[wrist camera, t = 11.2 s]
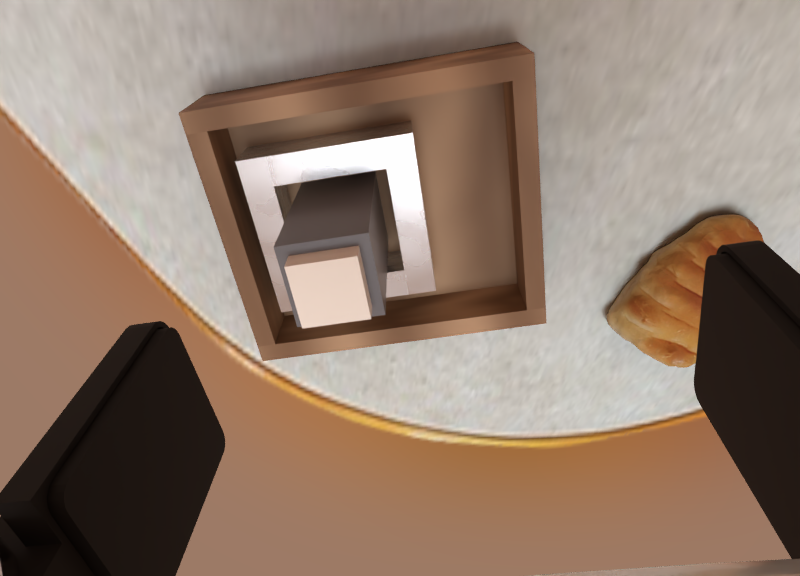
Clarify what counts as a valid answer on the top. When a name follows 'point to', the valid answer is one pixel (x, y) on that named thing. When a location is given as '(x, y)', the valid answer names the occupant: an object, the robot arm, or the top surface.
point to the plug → (335, 251)
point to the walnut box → (441, 187)
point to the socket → (340, 156)
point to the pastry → (674, 291)
